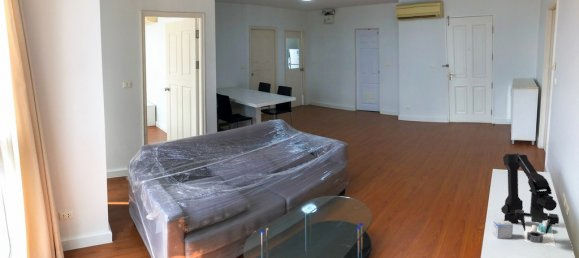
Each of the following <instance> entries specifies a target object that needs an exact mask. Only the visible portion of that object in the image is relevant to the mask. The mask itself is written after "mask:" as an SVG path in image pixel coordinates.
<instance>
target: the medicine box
mask: <svg viewBox="0 0 579 258" xmlns="http://www.w3.org/2000/svg"><path fill="white" fill-rule="evenodd" d="M513 227H514V224H512V223H511V222H509V221H504V220H500V221H498V220H497V221H493V229H492V231H493V232H492V235H493V236H494V237H495V238H496V239H509V238H510V239H512V238H513V230H514V229H513Z"/></svg>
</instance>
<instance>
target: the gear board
mask: <svg viewBox="0 0 579 258" xmlns="http://www.w3.org/2000/svg"><path fill="white" fill-rule="evenodd" d="M546 225H547V221H543V222H542V223H539V224H538V225H536V224H532V225H531V226H530V225H529V226H528V225H525V231H524V230H523V234H524V242H526V243H530V244H531V243H532V244H537V245H545V246H551V247H556V244H555V243H556V242H555V239H554V232H553V231H554V230H553V229H552V228H553V225H552V226H551V227H550V228H549V230H548V232H547V234H545V230H546ZM531 231H533V232H539V233H540V234H543V242H539V243H536V242H531V241H529V240H527V232H531Z"/></svg>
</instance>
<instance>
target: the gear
mask: <svg viewBox="0 0 579 258" xmlns="http://www.w3.org/2000/svg"><path fill="white" fill-rule="evenodd" d="M527 240H529V241H531V242H536V243H535V244H537V243H539V242H543V234H540V233H539V232H533V231H531V232H527ZM531 242H530V243H531Z"/></svg>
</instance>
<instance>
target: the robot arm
mask: <svg viewBox="0 0 579 258" xmlns="http://www.w3.org/2000/svg"><path fill="white" fill-rule="evenodd" d="M502 159H503V160H502V161H503V165H504V167H505V168H506V170H507V191H508V192H507V194H508V195H507V197H506V199H505V200H504V205H503V206H502V207H501V208H500V210H501V213H502V214H503V215H504V219H503V221H509V222H511V223H512V224H513V225H514V224H515V225H516V224H519V221H520V222H521V224H522V228H523V232H524V231H525V226H526V221H525V220H526V219H525V218H531V219H530V221H531V222H532V223H539V224H540V223H543V222H547V225H546V230H545V234H547V232H548V230H549V228H550V227H551V226H552V227H553V226H554V225H556V224H557V225H558V224H559V223H560V218H559V215H558V214H557V213H547V212H544V209H545V210H546V211H548V212H551V211H554V210H555V209H556V208H557V207H558V206H557V205H558V204H557V202H556V200H555V199H554V196H552V188H551V185H550V184H549V181H548V180H547V179H546V178H545V176H544V175H542V174H540V173H538V171H537V170H536V168H535V167H534V165H533V164H532V163H531V161H529V158H528V155H526V154H519V153H518V152H515V153H505V155H504V156H503V158H502ZM520 168H521V170H522V172H523V173H524V174H525V176H526V177H527V178H528V179H527V180H528V181H527V183H528V186H529V188H530V189H529V192H530V194H531V195H530V207H529V212H525V210H524V209H523V208H524V207H523V205H524V204H523V202H524V201H523V200H522V199H521V198H520V196H519V173H518V172H519V169H520Z"/></svg>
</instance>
